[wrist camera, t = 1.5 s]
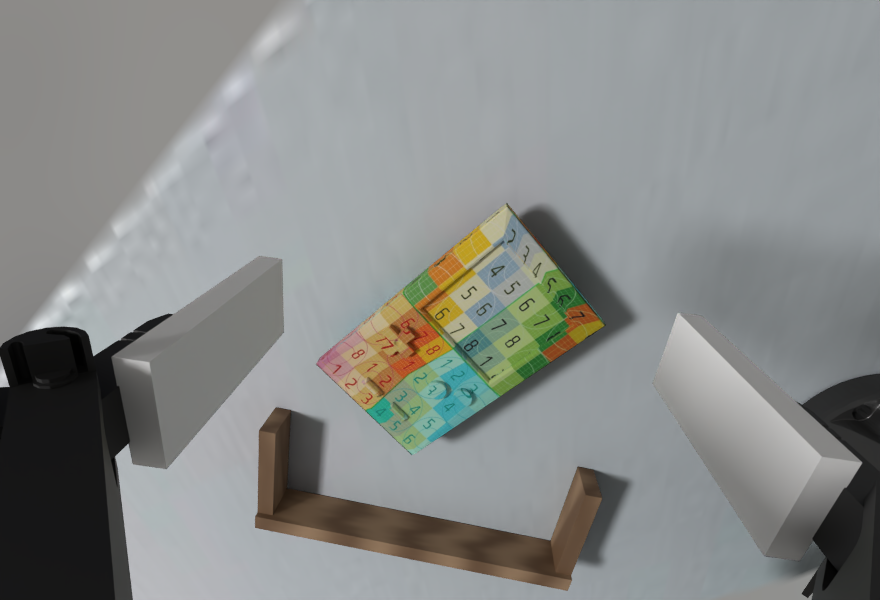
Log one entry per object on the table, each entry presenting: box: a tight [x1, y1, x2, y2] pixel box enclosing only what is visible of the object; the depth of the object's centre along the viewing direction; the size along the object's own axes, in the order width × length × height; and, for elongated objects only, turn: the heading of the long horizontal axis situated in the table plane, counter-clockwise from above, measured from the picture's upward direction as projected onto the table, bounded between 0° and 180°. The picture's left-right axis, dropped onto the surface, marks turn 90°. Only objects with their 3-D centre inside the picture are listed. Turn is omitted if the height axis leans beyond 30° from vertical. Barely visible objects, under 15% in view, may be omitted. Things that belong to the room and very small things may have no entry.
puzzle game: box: [316, 203, 605, 455], centre depth 37 cm, size 12×5×20 cm
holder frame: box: [255, 408, 602, 591], centre depth 44 cm, size 31×12×4 cm, turn 80°
